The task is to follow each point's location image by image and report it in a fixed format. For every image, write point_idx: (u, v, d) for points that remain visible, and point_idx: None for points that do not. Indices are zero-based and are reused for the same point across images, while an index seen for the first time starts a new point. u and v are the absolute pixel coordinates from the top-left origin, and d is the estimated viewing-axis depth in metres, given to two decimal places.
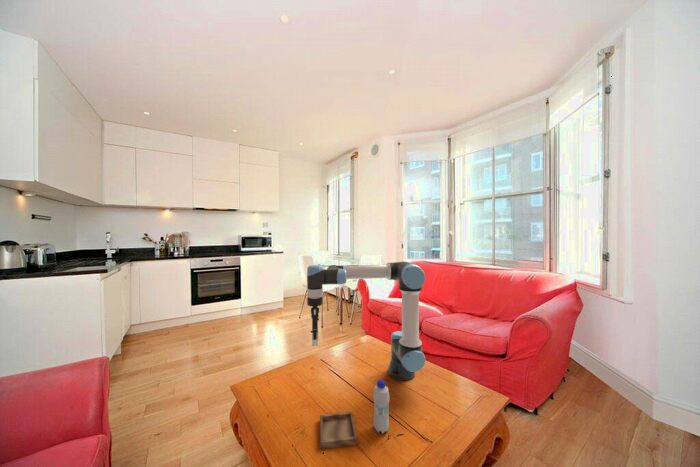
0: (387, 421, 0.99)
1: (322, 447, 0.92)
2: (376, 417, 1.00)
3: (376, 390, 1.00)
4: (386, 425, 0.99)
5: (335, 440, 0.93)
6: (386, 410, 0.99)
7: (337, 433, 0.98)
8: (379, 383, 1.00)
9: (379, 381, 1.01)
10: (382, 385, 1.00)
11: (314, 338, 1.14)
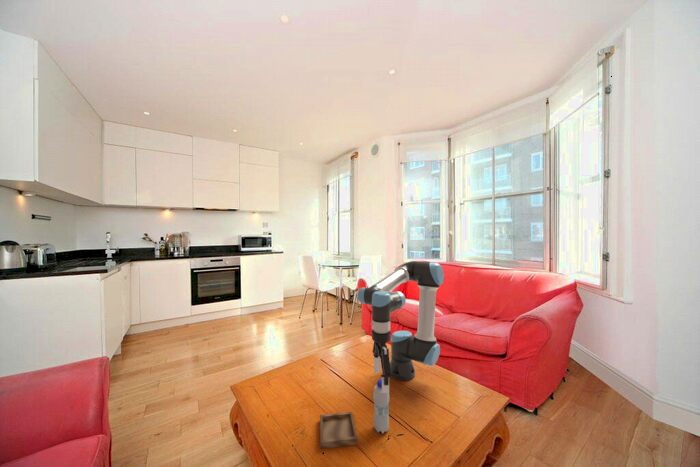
0: (387, 421, 0.99)
1: (322, 447, 0.92)
2: (376, 417, 1.00)
3: (376, 390, 1.00)
4: (386, 425, 0.99)
5: (335, 440, 0.93)
6: (386, 410, 0.99)
7: (337, 433, 0.98)
8: (379, 383, 1.00)
9: (379, 381, 1.01)
10: None
11: (386, 384, 0.93)
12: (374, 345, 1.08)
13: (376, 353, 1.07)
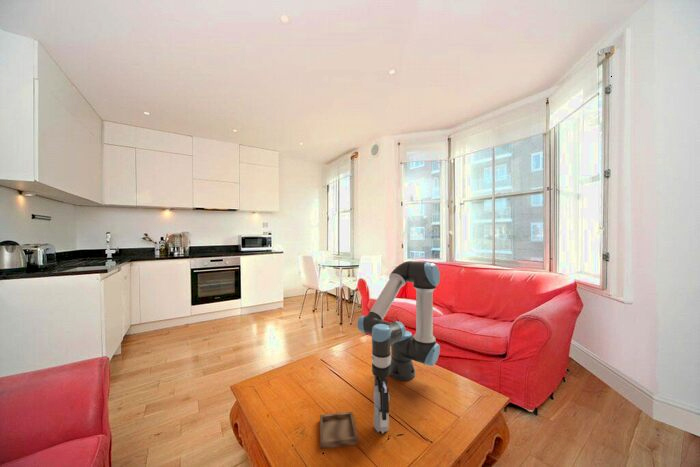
0: (387, 421, 0.99)
1: (322, 447, 0.92)
2: (376, 417, 1.00)
3: (376, 390, 1.00)
4: None
5: (335, 440, 0.93)
6: None
7: (337, 433, 0.98)
8: None
9: None
10: None
11: (384, 418, 0.96)
12: (375, 381, 1.06)
13: None
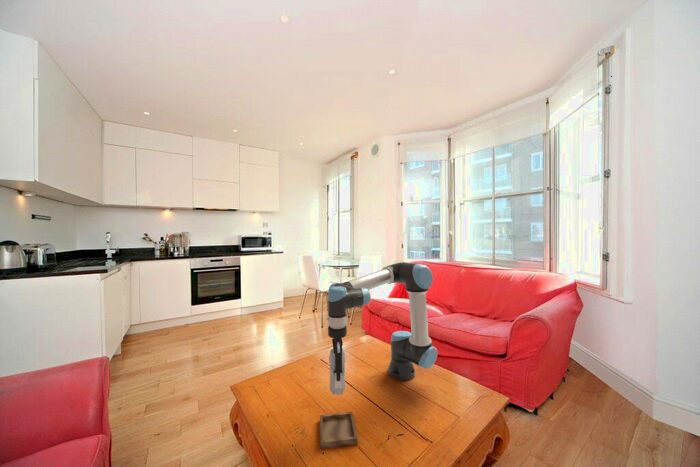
0: (342, 383, 0.98)
1: (322, 447, 0.92)
2: (331, 379, 0.98)
3: (331, 352, 0.99)
4: None
5: (335, 440, 0.93)
6: None
7: (337, 433, 0.98)
8: None
9: None
10: None
11: (338, 379, 0.95)
12: None
13: None
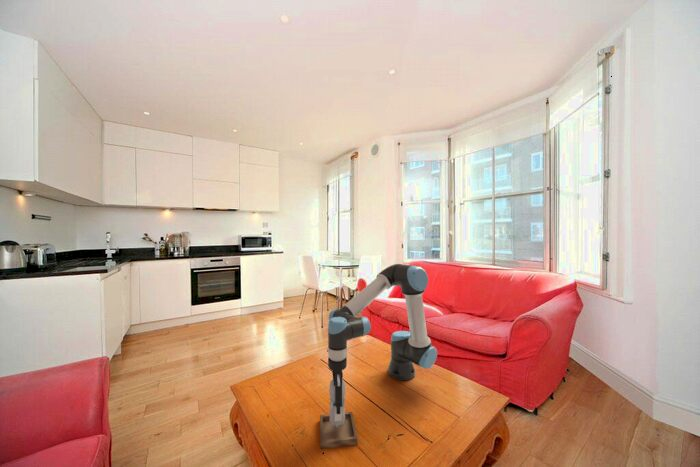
0: (342, 415, 0.98)
1: (322, 447, 0.92)
2: (331, 411, 0.98)
3: (331, 384, 0.99)
4: None
5: (335, 440, 0.93)
6: None
7: (337, 433, 0.98)
8: None
9: None
10: None
11: (337, 412, 0.95)
12: None
13: None
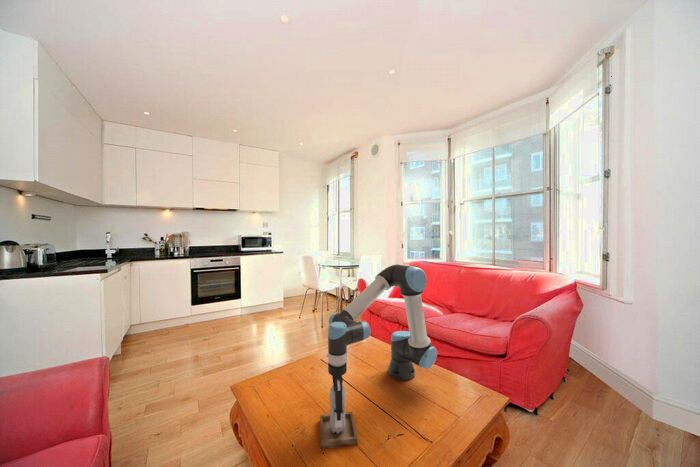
0: (343, 422, 0.98)
1: (322, 447, 0.92)
2: (331, 418, 0.98)
3: (332, 390, 0.99)
4: None
5: (335, 440, 0.93)
6: None
7: None
8: None
9: None
10: None
11: (338, 419, 0.94)
12: None
13: None
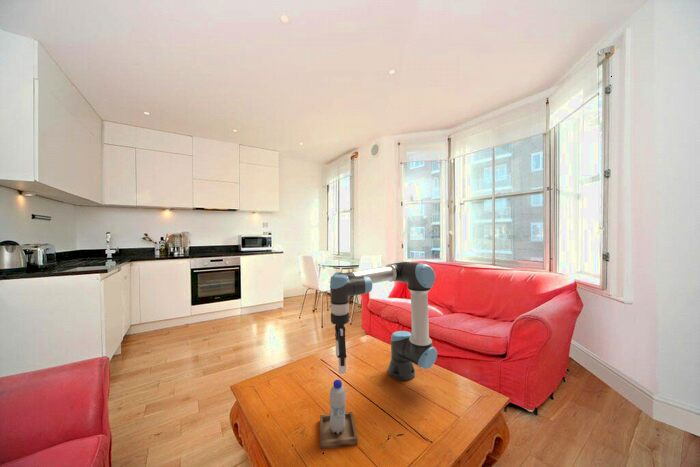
0: (343, 422, 0.98)
1: (322, 447, 0.92)
2: (331, 418, 0.98)
3: (332, 390, 0.99)
4: (341, 426, 0.98)
5: (335, 440, 0.93)
6: (341, 411, 0.98)
7: None
8: (335, 383, 0.99)
9: (336, 381, 1.00)
10: (338, 385, 0.99)
11: (342, 364, 0.94)
12: None
13: None
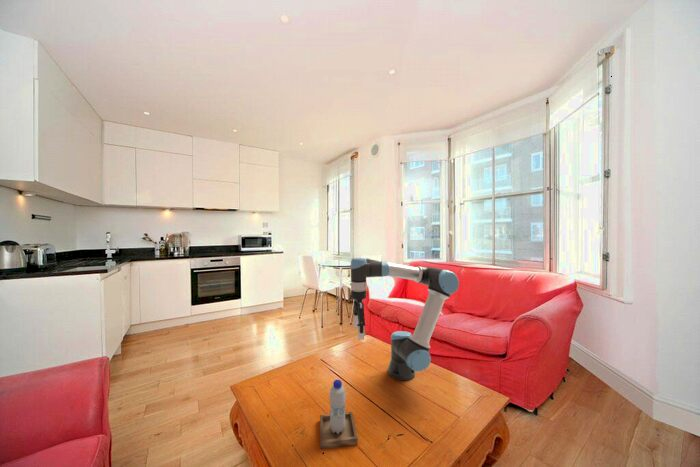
0: (343, 422, 0.98)
1: (322, 447, 0.92)
2: (331, 418, 0.98)
3: (332, 390, 0.99)
4: (341, 426, 0.98)
5: (335, 440, 0.93)
6: (341, 411, 0.98)
7: None
8: (335, 383, 0.99)
9: (335, 381, 1.00)
10: (338, 385, 0.99)
11: (361, 331, 1.12)
12: None
13: (355, 311, 1.26)
